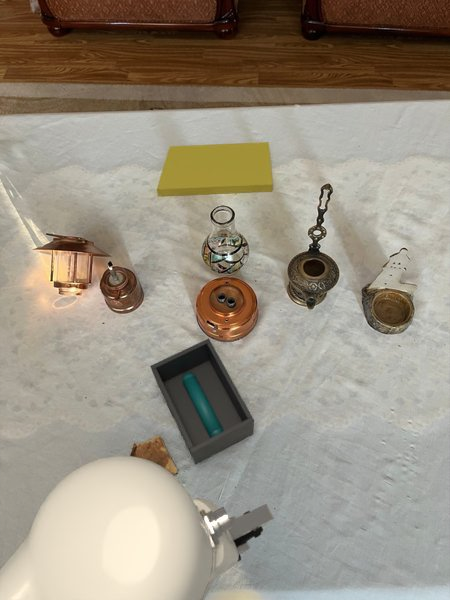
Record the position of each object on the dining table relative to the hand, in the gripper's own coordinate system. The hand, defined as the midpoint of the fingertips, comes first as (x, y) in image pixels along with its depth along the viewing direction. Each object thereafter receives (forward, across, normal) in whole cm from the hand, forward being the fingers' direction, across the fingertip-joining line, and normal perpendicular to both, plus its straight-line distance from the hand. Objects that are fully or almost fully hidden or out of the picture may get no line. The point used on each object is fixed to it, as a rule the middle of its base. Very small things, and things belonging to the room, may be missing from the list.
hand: (181, 571), depth 47 cm
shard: (+32, +1, -17) cm, 37 cm away
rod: (+32, -11, -23) cm, 41 cm away
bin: (+32, -11, -23) cm, 41 cm away
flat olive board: (+32, -36, -69) cm, 84 cm away
